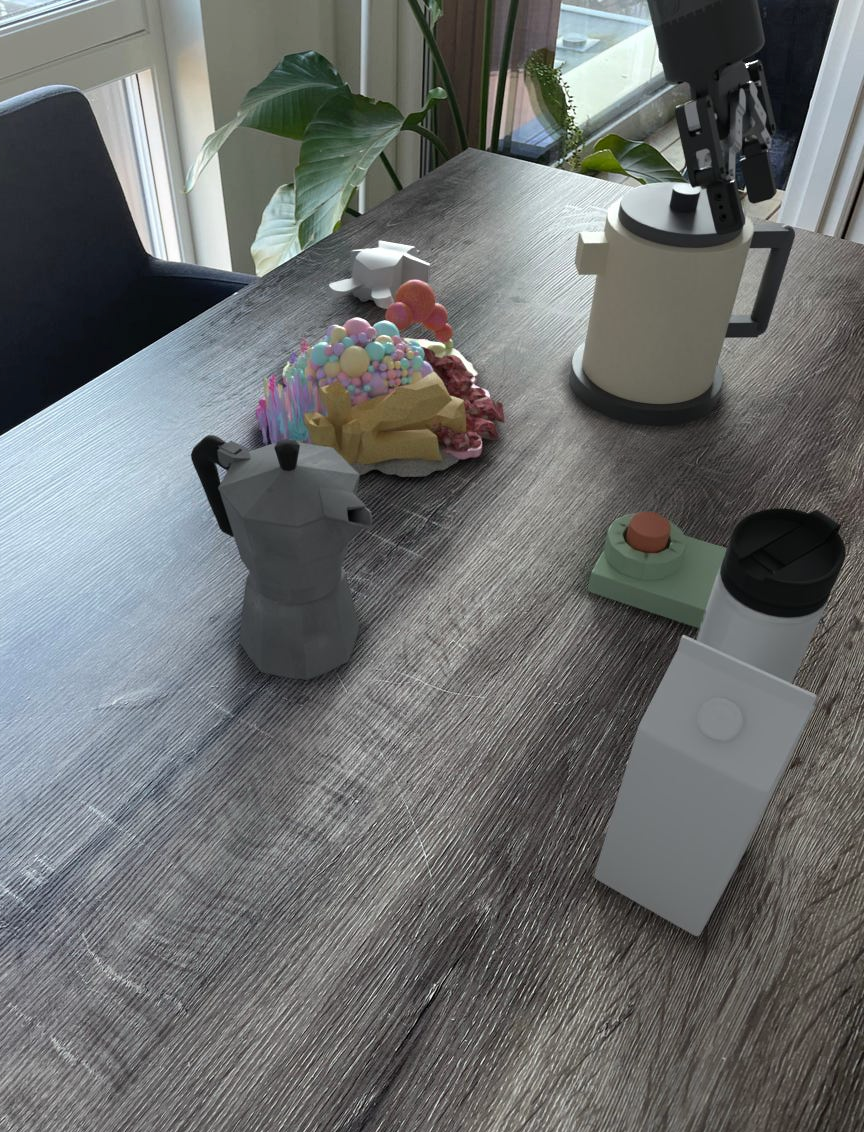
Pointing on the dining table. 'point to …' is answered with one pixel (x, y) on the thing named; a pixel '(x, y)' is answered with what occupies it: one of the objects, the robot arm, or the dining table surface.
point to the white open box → (381, 273)
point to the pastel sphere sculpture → (384, 393)
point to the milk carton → (699, 781)
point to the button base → (658, 574)
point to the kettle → (667, 304)
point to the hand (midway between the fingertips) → (748, 215)
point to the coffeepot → (289, 548)
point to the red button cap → (648, 532)
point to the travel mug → (773, 588)
